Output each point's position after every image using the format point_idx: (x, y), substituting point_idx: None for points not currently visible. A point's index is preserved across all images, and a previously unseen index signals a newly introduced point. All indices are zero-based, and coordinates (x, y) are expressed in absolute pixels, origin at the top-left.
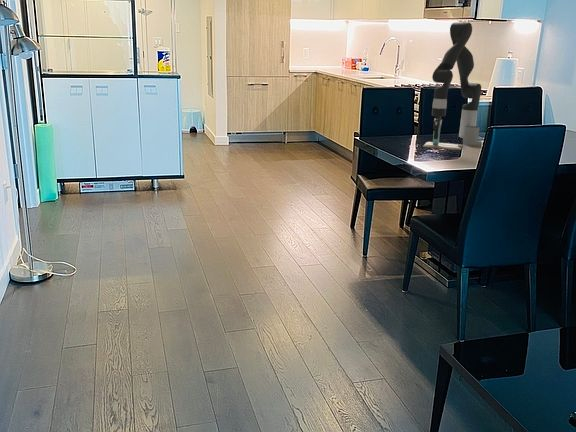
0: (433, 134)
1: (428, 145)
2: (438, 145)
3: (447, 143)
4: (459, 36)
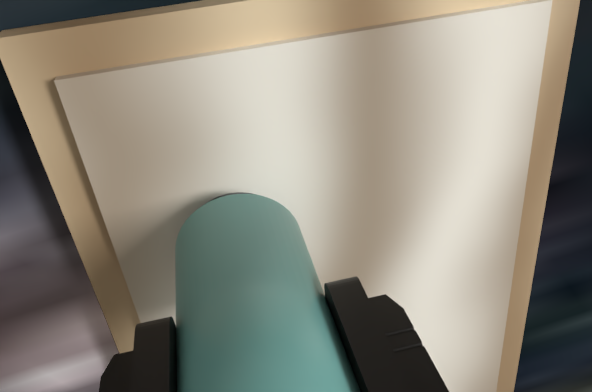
0: (226, 357)
1: (78, 147)
2: None
3: (500, 315)
4: None
